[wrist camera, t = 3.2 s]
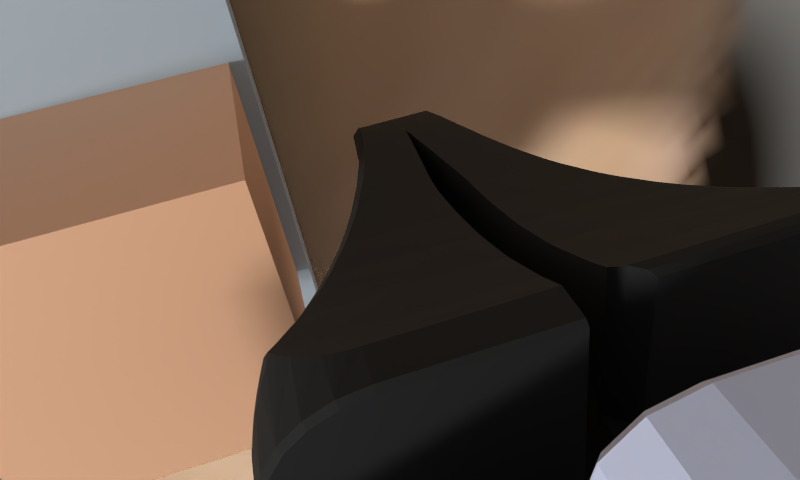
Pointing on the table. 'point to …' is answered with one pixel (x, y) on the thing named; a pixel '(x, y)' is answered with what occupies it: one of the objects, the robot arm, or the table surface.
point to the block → (136, 281)
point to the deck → (134, 68)
